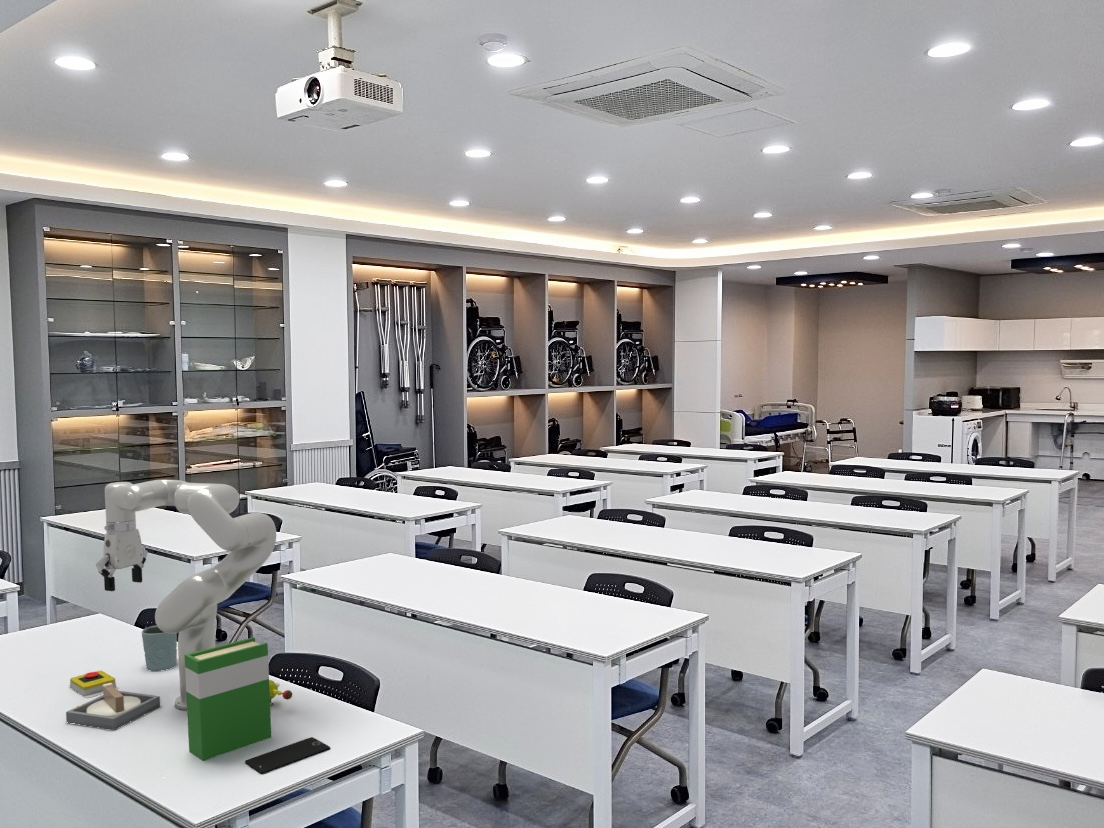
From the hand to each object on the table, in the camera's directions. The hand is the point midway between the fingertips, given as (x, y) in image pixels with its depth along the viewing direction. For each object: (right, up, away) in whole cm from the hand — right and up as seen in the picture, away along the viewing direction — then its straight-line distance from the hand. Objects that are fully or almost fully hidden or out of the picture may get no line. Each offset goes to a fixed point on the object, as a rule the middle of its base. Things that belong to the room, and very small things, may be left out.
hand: (123, 586), depth 253 cm
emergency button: (-13, -32, +8) cm, 35 cm away
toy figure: (+43, -31, -7) cm, 54 cm away
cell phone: (+58, -34, -39) cm, 78 cm away
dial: (+3, -31, -12) cm, 33 cm away
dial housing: (+3, -32, -12) cm, 35 cm away
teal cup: (0, -30, +25) cm, 39 cm away
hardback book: (+42, -33, -32) cm, 62 cm away
